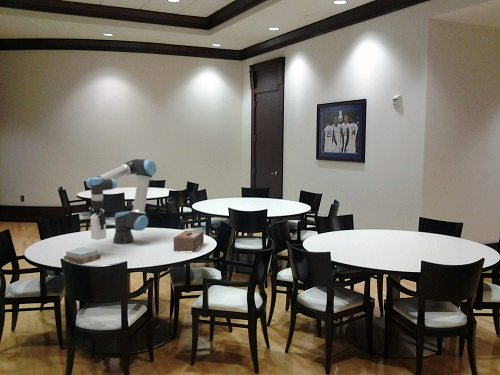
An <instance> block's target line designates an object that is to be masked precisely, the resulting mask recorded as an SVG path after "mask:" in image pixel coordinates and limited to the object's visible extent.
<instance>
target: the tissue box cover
mask: <svg viewBox="0 0 500 375" xmlns="http://www.w3.org/2000/svg"><path fill="white" fill-rule="evenodd" d="M204 242H205V241H204V231H203V230H202V231H201V230H184V231H182V232H180V233H178V235H176V236H174V237H173V252H180V251H192V252H191V253H194V252H195V251H196V249H197V248H198V247H199V246H200V247H202V246H203V245H204V244H203V243H204ZM202 244H203V245H202ZM201 245H202V246H201ZM200 247H199V248H200ZM199 248H198V249H199ZM198 249H197V250H198ZM194 250H195V251H194ZM193 251H194V252H193Z"/></svg>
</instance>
